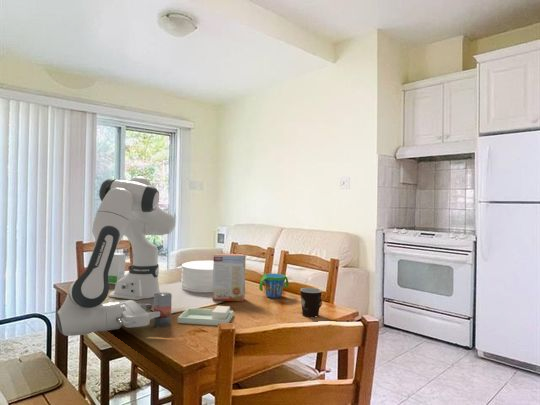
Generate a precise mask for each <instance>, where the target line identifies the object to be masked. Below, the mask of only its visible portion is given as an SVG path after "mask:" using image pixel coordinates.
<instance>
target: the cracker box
mask: <svg viewBox="0 0 540 405" xmlns="http://www.w3.org/2000/svg"><path fill="white" fill-rule="evenodd" d="M246 255H247V254H245V253H228V252H227V253H225V252H224V253H223V252H221V253H219V252H217V253H215V254H213V261H214V263H213V292H212V301H221V300H223V302H224V301H225V302H240V303H241V302H243V301H244V300H245V298H246V296H245V294H246V293H245V292H246V291H245V290H246Z"/></svg>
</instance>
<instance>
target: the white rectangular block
mask: <svg viewBox="0 0 540 405" xmlns="http://www.w3.org/2000/svg"><path fill="white" fill-rule="evenodd" d="M230 311H231V306H230V305H229V306H228V305H226V306H225V305H217V306H216V307H215V308H214V309H213V311H212V319H221V320H226V319H227V317H228V316H229V314H230Z"/></svg>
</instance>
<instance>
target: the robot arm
mask: <svg viewBox="0 0 540 405" xmlns="http://www.w3.org/2000/svg"><path fill="white" fill-rule="evenodd" d="M98 198H99V199H100V201H101V202H100V204H99V205H98V206H99V207H98V208H97V212H96V214H95V217H94V219H93V223H92V228H91V232H92V235H93V237H94V246H93V250H92V252H91V255H90V257H89V261H88V264H87V267H86V269H85V271H84V272H83V273H82V274H81V276H79V277H78V278H76V280H74V281H73V282H72V283H71V285H70V286H69V289H68V291H67V294H66V297H65V300H64V302H63V303H62V305H61V306H60V308H59V310H57V311H56V313H55V314H56V315H55V316H56V326H57V328H58V331H59V332H60V334H61V335H64V336H67V337H68V336H69V337H72V336H73V337H75V336H84V335H89V334H92V333H95V332H108V331H114V330H119V329H120V328H121V326H124V327H125V328H140V327H147V326H148V325H150V323H151V322H150V320H153V318H155V317H159V316H160V312H159V311H154V312H153V311H152V312H148V311H149V310H152V308H153V306H152V304H151V303H138V302H137V301H136V300H138V301H139V300H143V299H150V298H154V294H156V293H161V291H160V286H159V285H160V284H159V273H160V272H159V271H160V269H159V267H160V266H159V265H160V264H159V249H158V246H156V244H154V243H153V242H150V241H148V240H147V239H146V236H164V235H168V234H172V233H173V231H174V229H175V227H176V220H175V217H174V216H173V215H172V213H169V212H166V211H165V210H163V209H161V208H160V207H159V206H158V205H159V202H160V192H159V190H158V189H157V188H156V187H155V186H153V185H152V184H151V182H150V180H149V179H147V178H146V177H144V176H134V177H132V178H131V179H129V180H124V179H117V178H107V179H105V180H104V181H103V182H102V183H101V185H100V188H99V197H98ZM123 236H125V237H126V238H127V239H128V241H129V243H130V244H131V248H132V249H131V250H132V264H131V265H129V266H128V267H127V270H129V271H128V273H126V274H124V277H122V278H121V279H120V280H118V281H117V283H116V284H114V290H112V291H111V292H109V291H110V284H109V282H108V272H109V269H110V265H111V262H112V259H113V256H114V253H116V249H117V247H118V245H119V243H120V241H121V240H122V238H123ZM108 294H109V295H108ZM107 297H110V298H118V299H121V300H115V299H109V300H107V301H106V299H107ZM123 299H125V300H123ZM104 301H106V302H104ZM103 302H104V303H103Z"/></svg>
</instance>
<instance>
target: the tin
mask: <svg viewBox="0 0 540 405" xmlns="http://www.w3.org/2000/svg"><path fill="white" fill-rule="evenodd" d="M172 295H173V294H172V293H170V292H160V293H156V294H154V297H153V310H152V312H154V311H159V312H160V316H159V317H155V318H153V319H152V324H153V325H152V326H153V328H155V329H156V328H158V327H159V328H162V327H167V326H168V327H169V326H170V325H171V323H172V298H173V297H172Z"/></svg>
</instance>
